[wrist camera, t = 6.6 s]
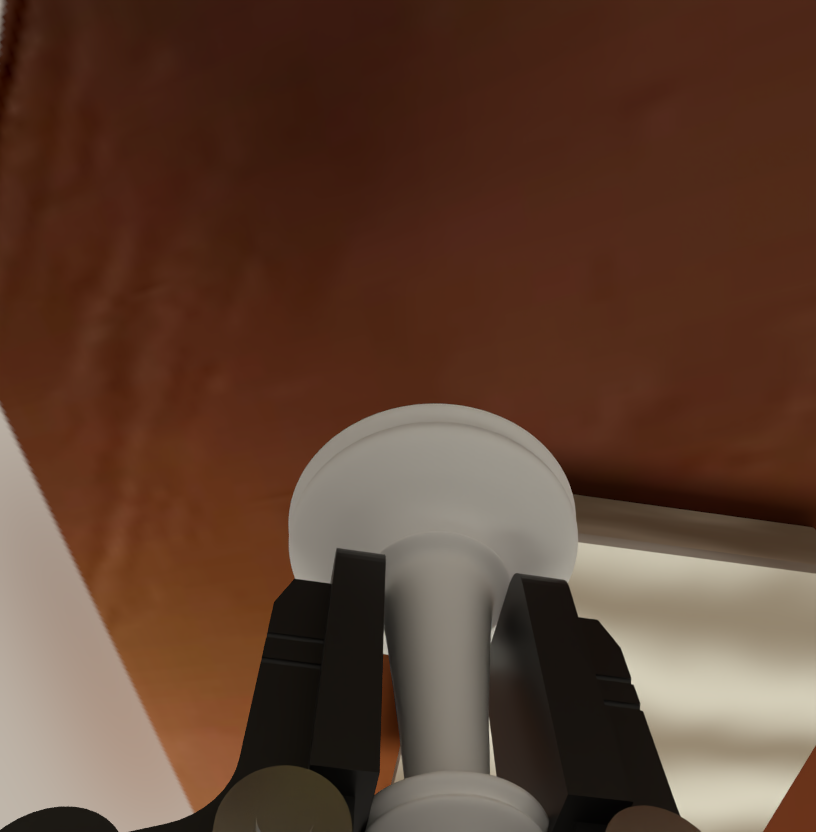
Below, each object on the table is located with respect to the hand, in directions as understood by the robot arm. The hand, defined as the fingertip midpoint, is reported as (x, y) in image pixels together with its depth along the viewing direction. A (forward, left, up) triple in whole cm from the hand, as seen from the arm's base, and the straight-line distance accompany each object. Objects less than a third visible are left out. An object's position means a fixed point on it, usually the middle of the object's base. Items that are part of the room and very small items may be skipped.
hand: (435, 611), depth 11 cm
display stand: (+17, +12, -19) cm, 28 cm away
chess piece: (0, 0, -2) cm, 2 cm away
